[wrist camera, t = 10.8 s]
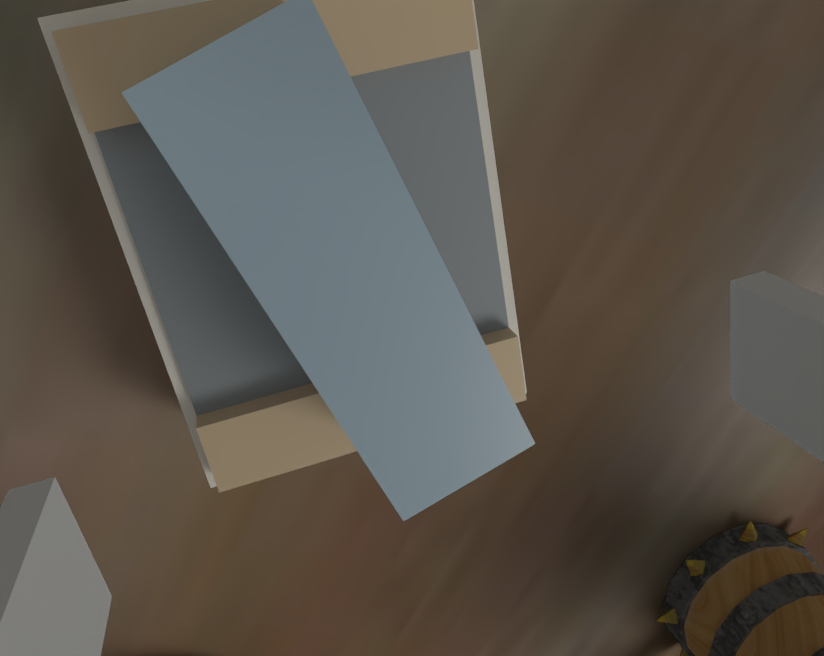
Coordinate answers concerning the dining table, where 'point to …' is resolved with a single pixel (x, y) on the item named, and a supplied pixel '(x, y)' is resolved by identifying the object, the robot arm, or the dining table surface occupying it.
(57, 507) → the robot arm
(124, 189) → the stand
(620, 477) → the dining table surface
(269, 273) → the blue-gray rectangular block
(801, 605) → the mug
